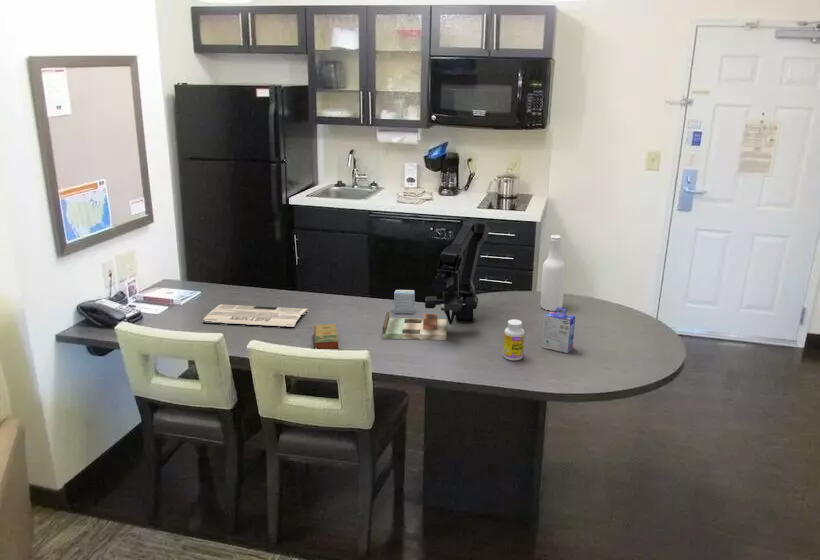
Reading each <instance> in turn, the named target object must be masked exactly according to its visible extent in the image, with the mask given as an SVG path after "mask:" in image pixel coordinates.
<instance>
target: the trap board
mask: <svg viewBox="0 0 820 560" xmlns="http://www.w3.org/2000/svg"><path fill="white" fill-rule="evenodd" d="M447 327H448V319H446V318H437V329H423V318H408V317H407V318H402V317H399V318H398V317H397V318H394V317H393V318H392V317H390V311H386V313H385V316H384V321H383V324H382V340H420V341H421V340H422V341H423V340H429V341H447V333H448V331H447Z"/></svg>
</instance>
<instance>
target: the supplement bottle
mask: <svg viewBox="0 0 820 560" xmlns="http://www.w3.org/2000/svg"><path fill="white" fill-rule="evenodd" d="M522 327H523V322H522V320H520V319H515V318H514V319H513V318H512V319H508V321H507V327H506V328H505V329H504V333H503V334H504V337H503V357H504V358H505V359H507V360H509V361H520V360H521V359H523V357H524V345H525V330H524V329H523V328H522Z"/></svg>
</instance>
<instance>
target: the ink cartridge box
mask: <svg viewBox="0 0 820 560" xmlns="http://www.w3.org/2000/svg"><path fill="white" fill-rule="evenodd" d="M557 310H559V311H557ZM560 310H561V311H563V312H561V311H560ZM566 313H567V308H564V307H562V308H559V307H557V308H556V311H548V312H547V313H546V314H544V315H543V320H542V321H543V323H542V339H541V348H543V349H546V350H547V349H548V350H552V351H557V352H561V353H565V354H568V353H569V352H571V351H572V350H573V349H574V339H575V326H576V325H575V324H576V315H572V314H571V315H570V314H566Z"/></svg>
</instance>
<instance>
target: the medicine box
mask: <svg viewBox="0 0 820 560" xmlns="http://www.w3.org/2000/svg"><path fill="white" fill-rule="evenodd" d="M415 292H416V291H415V290H414V289H395V290H394V293H393V302H394V307H393V308H394V314H411V315H412V314H415V311H416V302H415V301H416V300H415V299H416V298H415V297H416V296H415V295H416V294H415Z"/></svg>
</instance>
